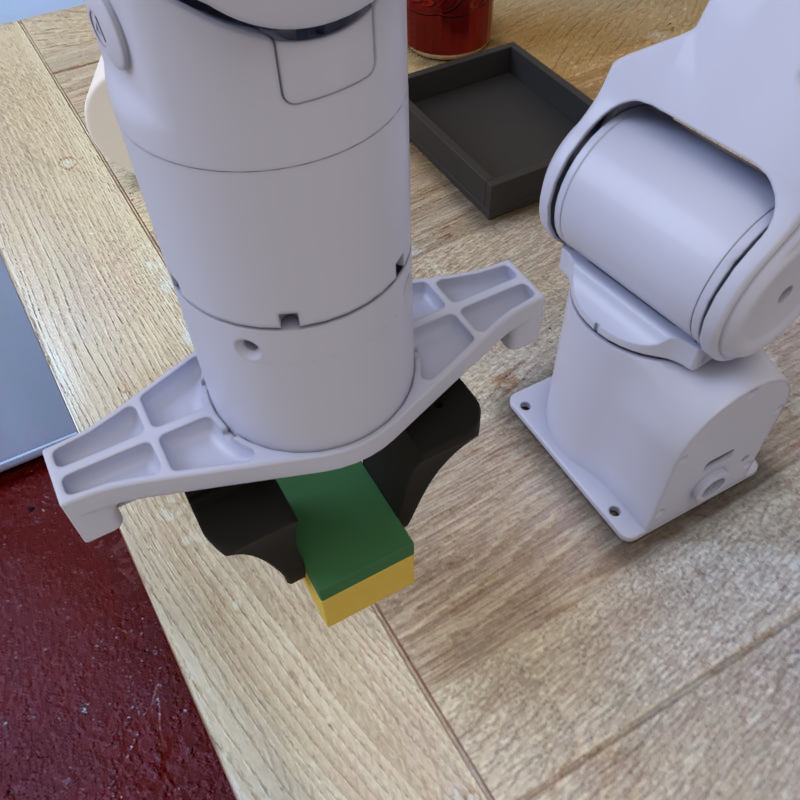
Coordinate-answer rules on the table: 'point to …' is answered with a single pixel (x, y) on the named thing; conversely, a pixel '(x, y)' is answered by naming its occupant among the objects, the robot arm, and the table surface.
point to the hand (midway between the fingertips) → (339, 532)
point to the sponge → (348, 540)
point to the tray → (493, 123)
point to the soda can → (448, 27)
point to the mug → (105, 121)
